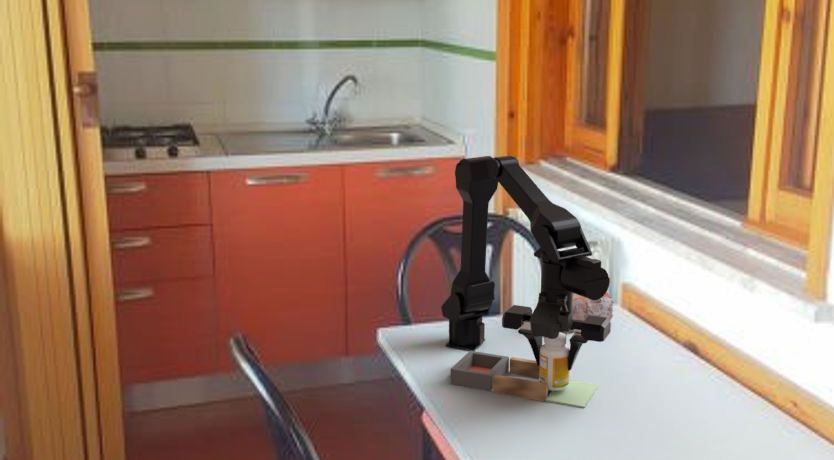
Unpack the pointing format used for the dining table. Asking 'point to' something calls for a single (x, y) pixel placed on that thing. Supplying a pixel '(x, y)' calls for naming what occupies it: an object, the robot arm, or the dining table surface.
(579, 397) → the pad
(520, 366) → the walnut trough
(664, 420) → the dining table surface
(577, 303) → the food item
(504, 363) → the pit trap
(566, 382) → the supplement bottle
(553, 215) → the robot arm
